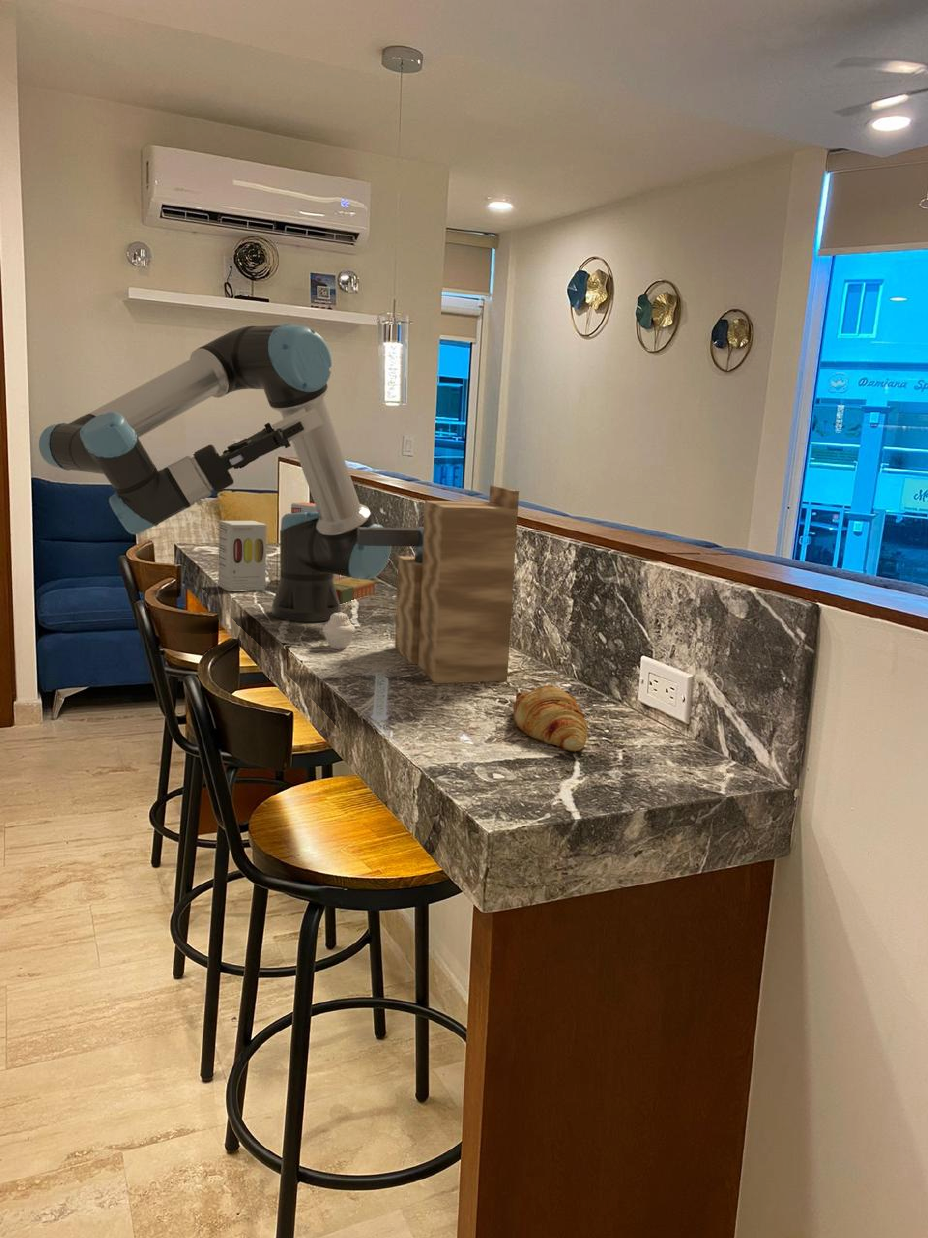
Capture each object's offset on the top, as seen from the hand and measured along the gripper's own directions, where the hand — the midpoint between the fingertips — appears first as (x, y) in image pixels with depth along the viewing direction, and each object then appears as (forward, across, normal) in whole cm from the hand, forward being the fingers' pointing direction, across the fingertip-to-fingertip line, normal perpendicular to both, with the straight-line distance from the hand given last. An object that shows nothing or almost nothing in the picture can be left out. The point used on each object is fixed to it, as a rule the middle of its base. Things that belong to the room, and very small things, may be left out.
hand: (313, 415), depth 161 cm
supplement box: (-28, -73, -35) cm, 86 cm away
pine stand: (0, +5, -50) cm, 51 cm away
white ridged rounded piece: (-16, -10, -42) cm, 46 cm away
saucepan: (+4, -3, -32) cm, 32 cm away
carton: (-7, -60, -47) cm, 76 cm away
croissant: (+3, +44, -52) cm, 68 cm away
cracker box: (-11, -81, -45) cm, 93 cm away
